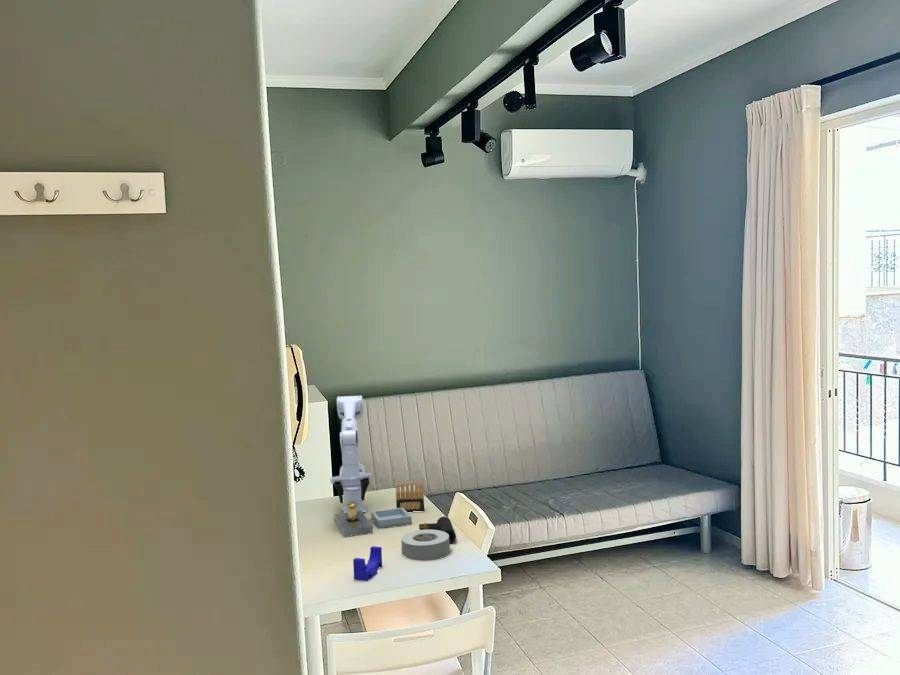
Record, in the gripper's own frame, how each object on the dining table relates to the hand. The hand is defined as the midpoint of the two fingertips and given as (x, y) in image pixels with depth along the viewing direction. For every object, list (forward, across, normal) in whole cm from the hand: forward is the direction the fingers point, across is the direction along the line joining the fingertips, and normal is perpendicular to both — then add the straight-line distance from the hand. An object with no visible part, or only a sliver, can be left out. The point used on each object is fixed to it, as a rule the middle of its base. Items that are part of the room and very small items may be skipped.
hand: (352, 501), depth 271 cm
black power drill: (+10, +24, -23) cm, 35 cm away
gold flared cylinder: (+9, 0, 0) cm, 9 cm away
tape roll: (+10, +17, -35) cm, 40 cm away
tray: (+9, +14, 0) cm, 17 cm away
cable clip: (+10, -4, -46) cm, 47 cm away
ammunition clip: (+10, +24, +9) cm, 27 cm away
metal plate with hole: (+9, 0, 0) cm, 9 cm away
